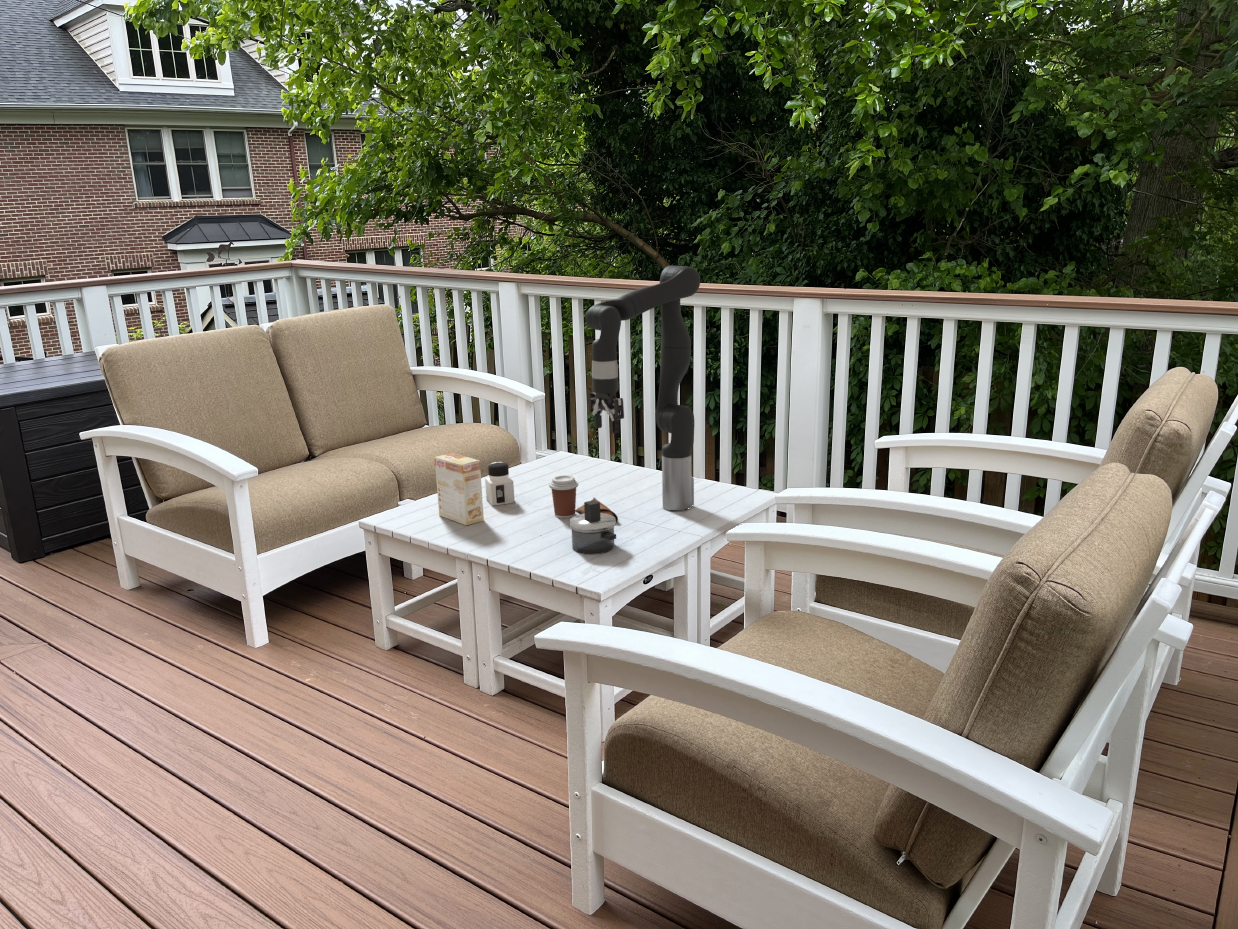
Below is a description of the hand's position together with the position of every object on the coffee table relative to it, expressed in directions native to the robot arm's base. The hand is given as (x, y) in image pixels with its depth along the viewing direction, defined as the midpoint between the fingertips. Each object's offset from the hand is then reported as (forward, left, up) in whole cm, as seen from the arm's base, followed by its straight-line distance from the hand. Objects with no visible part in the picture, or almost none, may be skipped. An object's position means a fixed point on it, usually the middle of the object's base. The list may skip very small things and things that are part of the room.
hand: (606, 430), depth 277 cm
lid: (+13, +10, -23) cm, 28 cm away
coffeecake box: (+30, -38, -30) cm, 57 cm away
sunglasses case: (-3, -12, -31) cm, 33 cm away
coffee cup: (+4, -19, -30) cm, 36 cm away
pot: (+13, +10, -30) cm, 34 cm away
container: (+12, -45, -30) cm, 56 cm away
